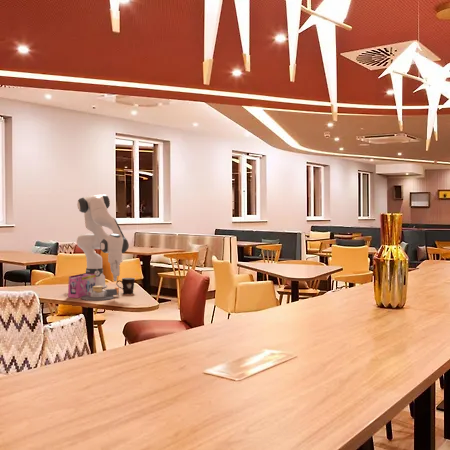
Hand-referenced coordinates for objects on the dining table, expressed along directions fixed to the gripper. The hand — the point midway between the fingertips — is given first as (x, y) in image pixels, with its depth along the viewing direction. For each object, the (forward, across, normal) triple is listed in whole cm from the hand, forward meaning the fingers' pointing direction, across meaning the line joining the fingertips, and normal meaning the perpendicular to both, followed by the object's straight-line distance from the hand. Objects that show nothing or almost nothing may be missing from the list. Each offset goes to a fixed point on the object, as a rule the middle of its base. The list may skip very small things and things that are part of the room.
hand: (115, 280), depth 361 cm
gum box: (+12, +17, +20) cm, 29 cm away
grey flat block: (+10, +4, +7) cm, 12 cm away
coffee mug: (+12, +21, -9) cm, 26 cm away
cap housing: (+11, +2, +11) cm, 16 cm away
